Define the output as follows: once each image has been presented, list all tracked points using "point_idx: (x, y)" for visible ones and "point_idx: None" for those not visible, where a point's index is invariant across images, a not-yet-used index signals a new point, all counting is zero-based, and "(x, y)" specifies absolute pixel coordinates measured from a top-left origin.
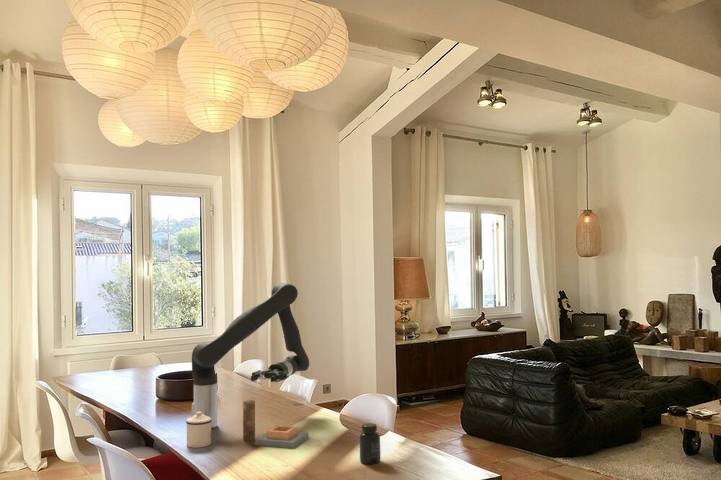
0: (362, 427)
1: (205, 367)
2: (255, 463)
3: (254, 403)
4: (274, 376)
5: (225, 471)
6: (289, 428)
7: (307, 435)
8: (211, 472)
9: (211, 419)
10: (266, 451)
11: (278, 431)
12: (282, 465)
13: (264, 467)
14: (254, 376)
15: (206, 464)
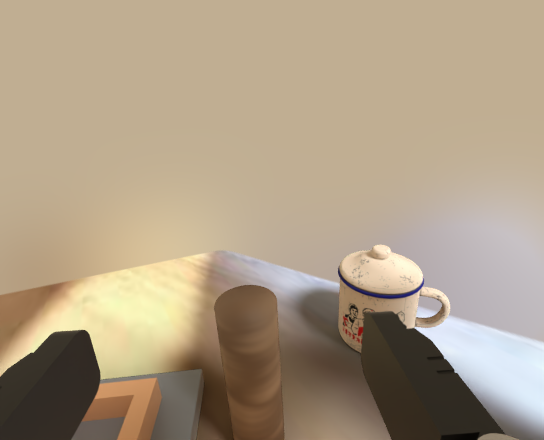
0: None
1: None
2: (157, 289)
3: (215, 315)
4: (11, 394)
5: (200, 258)
6: None
7: None
8: (221, 251)
9: (356, 288)
10: (148, 349)
11: (103, 388)
12: (95, 297)
13: (133, 282)
14: (382, 353)
15: (250, 265)
